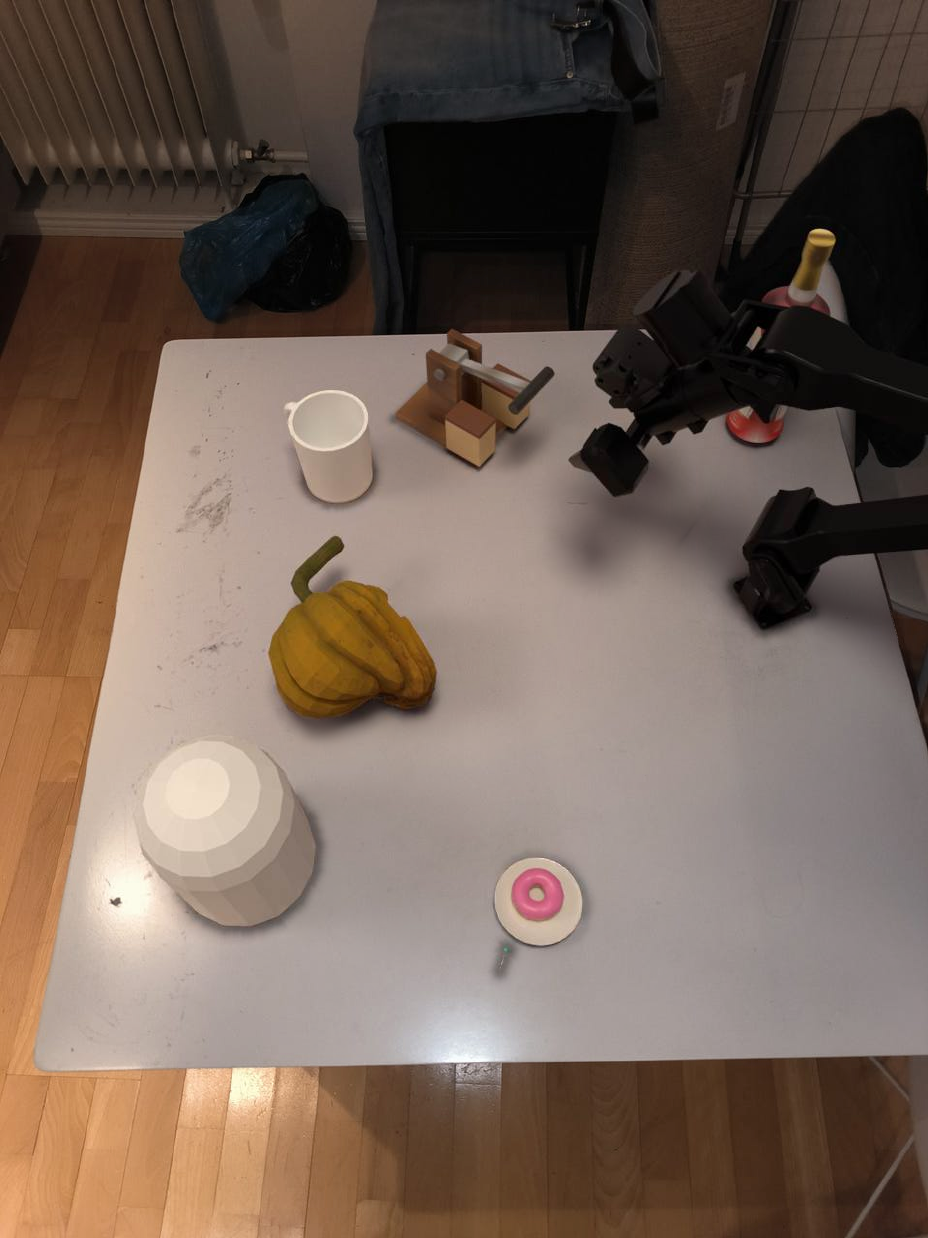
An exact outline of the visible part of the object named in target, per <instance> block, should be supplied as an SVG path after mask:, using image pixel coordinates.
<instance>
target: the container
mask: <svg viewBox="0 0 928 1238" xmlns="http://www.w3.org/2000/svg"><path fill="white" fill-rule="evenodd" d="M132 817H133V821H134V825H135V826H134V827H135V830H136V835H137V839H138V844H139V849H140V853H141V855H142V857H143V858H144V859H145V860H146V861H147V862H148V864H149V865H150V866H151V868H152V869H153V871H154V872H155V873H156V875H158V877H159V878H160V879H161V880H162V881H163V882H164V883H166V884H167V885H168V886H169V888H171V889H172V890H173V891H174V892H175V893H177V895H179V897H180V898H181V899H182V900H184V901H185V902H186V903H187V904H188V905H189V906H190V907H192V909H193V910H195V911H196V912H197V913H198V914H199V915H201V916H203V917H205V918H207V919H209V920H211V921H213V922H215V923H216V924H219V925H221V926H223V927H225V926H226V927H253V926H256V925H259V924H261V923H264V922H267V921H270V920H272V919H275V918H277V917H279V916H280V915H281V914H283V913H284V912H285V911H286V910H287V909H289V907H291V905H293V904H294V903H295V902H296V901H297V900H298V899H299V898H301V896H302V894H303V892H304V890H305V888H306V886H307V884H308V883H309V881H310V879H311V877H312V875H313V873H314V865H315V857H316V847H317V845H316V842H315V837H314V836H313V835H314V834H313V832H312V828H311V825H310V822H309V820H308V817H307V815H306V813H305V811H304V809H303V807H302V805H301V802H300V801H299V798H298V797H297V794H296V792H295V791H294V789H293V786H292V784H291V782H290V780H289V778H288V775H287V773H286V772H285V770H283V768H282V767H281V766H280V764H278V763H277V762H276V761H275V759H274V758H273V757H272V756H271V754H269V753H268V752H267V751H265V750H264V749H263V748H261V747H260V746H257V745H256V744H253V743H251V742H249V741H246V740H245V739H242V738H240V737H238V736H235V735H213V734H211V735H210V734H208V735H207V734H206V735H202V736H200V737H196V738H193V739H191V740H188V741H185V742H183V743H182V742H181V743H179V744H178V745H176V746H175V747H174V748H172V749H171V750H169V751H168V752H166V754H165V755H163V756H162V757H161V758H159V759H158V760H157V761H156V762H154V764H153V765H152V767H151V768H150V769H149V771H148V773H147V775H146V776H145V778H144V779H143V781H142V782H141V784H140V785H139V787H138V791H137V795H136V800H135V805H134V810H133V815H132Z"/></svg>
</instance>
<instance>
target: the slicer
mask: <svg viewBox="0 0 928 1238" xmlns="http://www.w3.org/2000/svg"><path fill="white" fill-rule="evenodd" d="M446 344H447V345H448V344H452V345H455V346H457V347H460V348H462V349H465V350H468V355H469V360H472V361H475V362H477V363H480V364H482V365H483V344H481V343H480V342H478V341H476V340H474V339H472V338H471V337H469V336H467V335H465V334H463V333H461V332H459V331H458V330H456V329H454V328H451V329H449V331H448V332H446ZM447 345H446V346H447ZM439 353H440V352H437V351H435V350H434V349H432V348H430V349H429V350H428V351H426V353H425V364H426V365H425V367H426V382H425V384H423V386H421V387H420V389H418V390H417V391H416V392H415V393H414V394H413V395H412V396H411V397H410V398H409V399H408V400H407V401H406V402H404V404H403V405H402V406H401V407H400V408H399V409H398V410H396V412H395V418H396V420H397V421H399V422H400V423H402V424H404V425H406V426H408V427H409V428H411V429H413V430H414V431H416V432H418V433H420V434H421V435H423V436H425V437H427V438H428V439H430V440H431V441H433V442H435V443H437V444H438V445H440V446H441V447H444V448H445V449H447V450H449V449H448V448H446V425H445V416H446V415H447V414H448V413H449V412H450V411H451V410H452V409H453V408H454V407H455V406H456V405H457V404H458V403H459V402H460V401H461V400H463V401H465V402H467V403H468V404H470V405H472V406H474V407H476V408H477V409H479V410H481V411H482V378H480V377H478V376H475V375H472V374H470V373H467V372H465V373H464V374H463V375H462V376H461V365H459V364H458V363H456V362H454V361H452V360H450V359H448V358H447V357H445V356H443V355H441V354H439ZM495 423H496V426H495V441H496V440H497V439H498V437H500V435H502V434H503V432H504V431H505V430H506V429H507V428H508V427H509V426H507V425H505V424H504V423H502V422H500V421H498V420H497V419H496V422H495ZM451 452H452V453H454V454H456V453H455V452H453V451H451ZM456 455H458V454H456ZM458 456H459V457H461V456H460V455H458ZM463 459H464V460H466V461H468V460H467V459H465V458H463ZM468 462H469V463H471V464H473V463H472V462H470V461H468Z"/></svg>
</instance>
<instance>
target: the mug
mask: <svg viewBox="0 0 928 1238" xmlns="http://www.w3.org/2000/svg"><path fill="white" fill-rule="evenodd" d="M283 416H284V420H285V422H286V424H287V426H288V430H289V433H290V436H291V439H292V442H293V446H294V449H295V452H296V455H297V458H298V461H299V463H300V467H301V470H302V474H303V476H304V479H305V483H306V485H307V488H308V490H309V491H310V493H311V494H312V495H313V496H314V497H316V498H317V499H319V500H320V501H323V502H325V503H329V504H337V505H338V504H346V503H349V502H352V501H355V500H357V499H358V498H360V497H362V496H363V495H364V494H365V493H366V492H367V491H368V490H369V488H370V487H371V485H372V482H373V479H374V472H373V471H374V469H373V458H372V457H373V456H372V447H371V445H372V443H371V435H370V434H371V433H370V420H369V412H368V410H367V408H366V404H364V403H363V401H361V399H360V398H358V397H357V396H356V395H354V394H352V393H350V392H346V391H344V390H337V389H326V390H320V391H316V392H312V393H310V394H309V395H308V394H307V396H304V397H303V398H302V399H301V400H299V401H298V402H296V401H290V402H287V403H285V405H284V407H283Z"/></svg>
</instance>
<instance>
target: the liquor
mask: <svg viewBox="0 0 928 1238" xmlns="http://www.w3.org/2000/svg"><path fill="white" fill-rule="evenodd" d="M836 241H837V240H836V236H835V234H834V233H833V232H831V231H830V230H827V229H824V228H815V229H813V230H811V231H810V232H809V233H808V235H807V237H806V241H805V243H804V246H803V249H802V256H801V261H800V263H799V266H798V268H797V269H796V272H795V274H794V275H793V277H792V280H791V283H790V284H789V285H787V286H786V285H785V286H780V287H776V288H774V289H771V290H770V291H768V292H767V293H766V294H765V296H763V298H762V300H761V302H763V303H769V304H775V305H780V306H786V307H791V306H796V305H801V306H806V307H811V308H814V309H816V310H818V311H820V312H822V313H824V314H827V315H829V316H831V309H830V306H829V305H828V303H827V301H826V300H825V299H824V298H823V297H822V296H821V295H819V294H818V293H817V292H818V287H819V284H820V280H821V276H822V272H823V269H824V265H825V264H826V263H827V261H828V260H829V258H830V256H831V254H832V251H833V248H834V246H835V243H836ZM764 331H765V330H763V329H761V328H759V327H757V329H756V330H755V332H754V334H753V335H752V337H751V338H750V342H749V346H748V347H749V348H750V349H751V350H753V349H754V347H755V346H756V344H757V343H758V341H759V339H760V338H761V336H762V334H763V333H764ZM788 408H789V407H788V406H783V405H779V407H778V409H777V411H776V412H775V414H774V416H773V418H772V419H771V421H770V423H768V424H764V423H763V422H762V421H761V420H760V419H759V417H758V416H757V415H756V413H755V412H754V411H753V409H752V408H751V407H750V406H748V407H745V408H742V409H739V410H736V411H734V412H731V413H728V414H726V423H727V426H728V428H729V430H730V431H731V432H732V433H733V434H734V435H735V436H737V437H738V438H739V439H742V440H744V441H746V442H750V443H757V444H759V443H760V444H761V443H767V442H770V441H773V440H775V439H777V438H778V437H779V436H780V435H781V434H782V432H783V429H784V423H785V422H784V417H785V414H786V412H787V411H788Z"/></svg>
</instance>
